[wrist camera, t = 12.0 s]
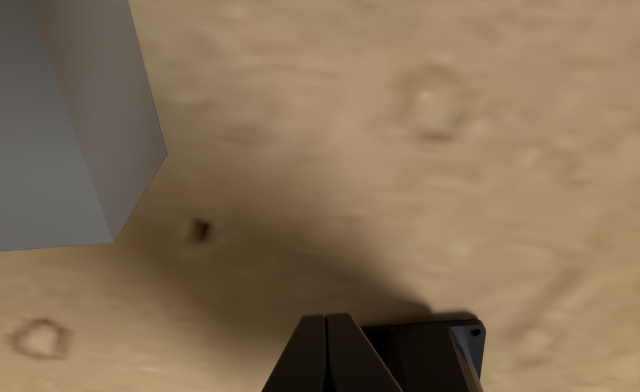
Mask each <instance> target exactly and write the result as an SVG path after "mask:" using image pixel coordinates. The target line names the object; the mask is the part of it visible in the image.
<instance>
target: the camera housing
mask: <svg viewBox="0 0 640 392" xmlns="http://www.w3.org/2000/svg"><path fill="white" fill-rule="evenodd" d="M166 156H167V153H166V149H165V145H164V141H163V137H162V133H161V129H160V126H159V122H158V118H157V114H156V110H155V106H154V102H153V98H152V94H151V90H150V86H149V82H148V79H147V75H146V71H145V67H144V63H143V59H142V55H141V51H140V47H139V43H138V39H137V35H136V31H135V28H134V24H133V20H132V16H131V12H130V8H129V4H128V0H0V251H13V250H26V249H39V248H52V247H65V246H78V245H91V244H104V243H114V241H115V239H116V238H117V236H118V234H119V233H120V231H121V230H122V228H123V226H124V225H125V223H126V221H127V220H128V218H129V216H130V215H131V213H132V212H133V210H134V208H135V207H136V205H137V203H138V202H139V200H140V198H141V197H142V195H143V193H144V192H145V190H146V189H147V187H148V185H149V184H150V182H151V180H152V179H153V177H154V175H155V174H156V172H157V170H158V169H159V167H160V166H161V164H162V162H163V161H164V159H165V157H166Z"/></svg>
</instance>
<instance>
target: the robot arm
mask: <svg viewBox="0 0 640 392" xmlns="http://www.w3.org/2000/svg"><path fill="white" fill-rule="evenodd" d="M473 329H476V330H473ZM485 335H486V329H485V327H484V324H483V323H482V321H480V320H478V319H467V320H454V321H440V322H427V323H413V324H399V325H386V326H372V327H359V325H358V324H357V322H356V321H355V320H354V318H353V317H352V315H351V314H350V313H349V312H332V313H328V314H327V316H325V314H323V313H319V314H306V315H304V316H302V318H301V319H300V321H299V323H298V325H297V327H296V328H295V330H294V332H293V334H292V336H291V338H290V339H289V341H288V343H287V345H286V347H285V349H284V351H283V352H282V354H281V356H280V358H279V360H278V362H277V363H276V365H275V367H274V369H273V371H272V373H271V375H270V376H269V378H268V380H267V382H266V384H265V386H264V387H263V389H262V391H261V392H484V391H483V389H482V386H481V383H480V375H481V367H482V359H483V351H484V343H485Z"/></svg>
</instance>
